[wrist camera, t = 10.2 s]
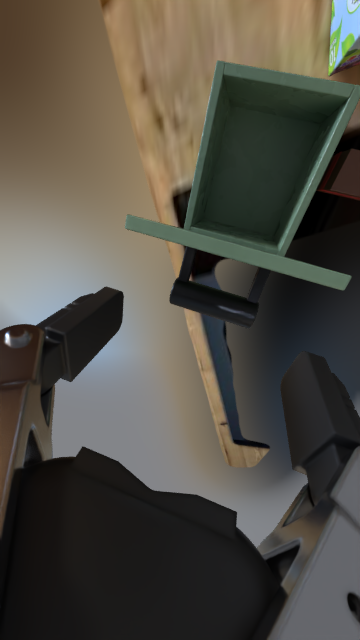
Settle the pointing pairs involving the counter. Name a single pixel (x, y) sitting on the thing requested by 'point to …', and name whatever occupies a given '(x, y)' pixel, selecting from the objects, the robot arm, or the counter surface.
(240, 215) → the bin
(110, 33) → the counter surface
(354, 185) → the chocolate
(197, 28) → the counter surface
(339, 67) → the snack box
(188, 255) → the bin lid
